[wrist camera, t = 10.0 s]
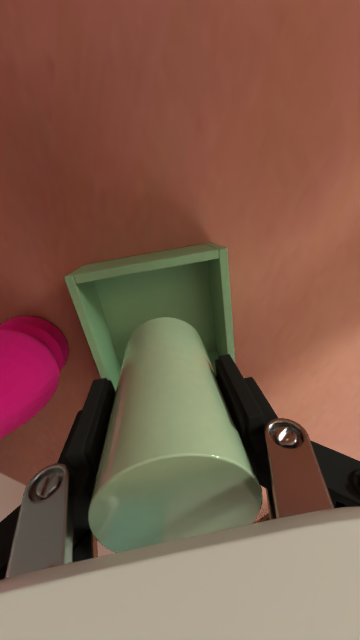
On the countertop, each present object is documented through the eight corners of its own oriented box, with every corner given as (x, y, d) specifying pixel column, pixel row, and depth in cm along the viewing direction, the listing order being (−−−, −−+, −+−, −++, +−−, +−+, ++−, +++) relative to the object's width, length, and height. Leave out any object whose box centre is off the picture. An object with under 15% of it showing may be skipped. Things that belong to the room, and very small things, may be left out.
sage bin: (117, 371, 23) (110, 404, 19) (83, 264, 19) (63, 277, 15) (221, 350, 24) (236, 378, 19) (211, 242, 19) (227, 247, 15)
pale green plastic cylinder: (116, 325, 14) (59, 479, 6) (198, 309, 14) (262, 437, 6) (135, 390, 16) (115, 575, 8) (207, 376, 16) (264, 542, 8)
